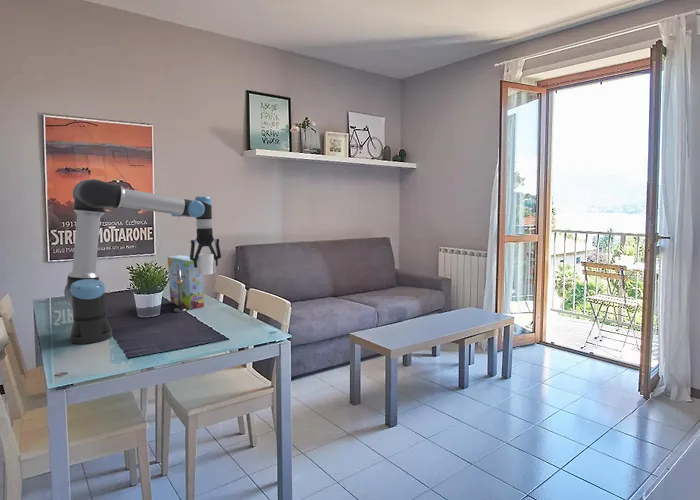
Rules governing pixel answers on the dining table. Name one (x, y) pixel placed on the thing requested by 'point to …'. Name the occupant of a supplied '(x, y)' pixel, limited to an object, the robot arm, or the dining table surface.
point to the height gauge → (179, 293)
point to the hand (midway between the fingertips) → (206, 273)
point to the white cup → (206, 263)
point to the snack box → (185, 282)
